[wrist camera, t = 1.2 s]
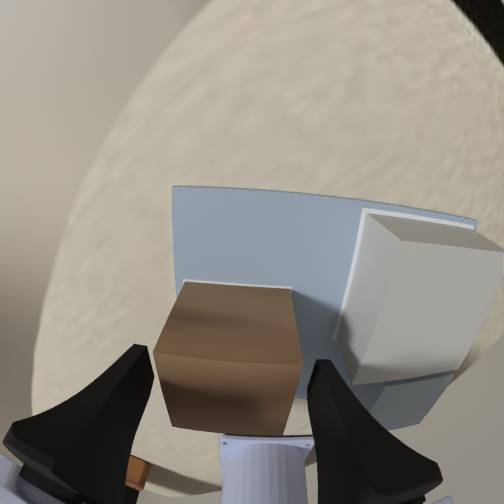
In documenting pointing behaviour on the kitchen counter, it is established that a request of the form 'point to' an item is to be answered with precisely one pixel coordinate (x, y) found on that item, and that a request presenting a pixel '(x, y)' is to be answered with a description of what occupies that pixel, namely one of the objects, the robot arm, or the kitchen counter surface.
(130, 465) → the whiskey bottle
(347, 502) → the robot arm
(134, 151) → the kitchen counter surface
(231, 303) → the walnut block
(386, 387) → the slate block
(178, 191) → the mat
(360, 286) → the base block
